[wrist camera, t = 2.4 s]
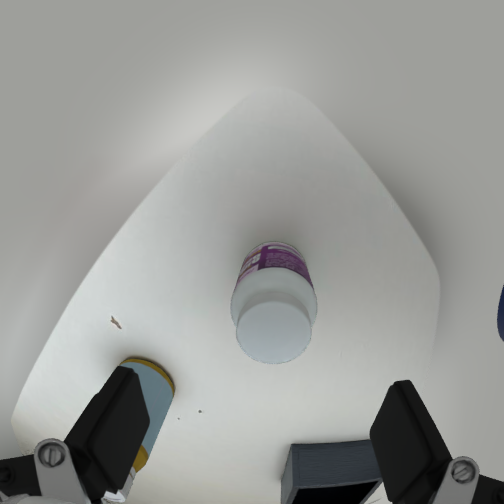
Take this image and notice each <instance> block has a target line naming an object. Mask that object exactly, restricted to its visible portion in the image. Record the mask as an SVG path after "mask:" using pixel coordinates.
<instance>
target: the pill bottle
mask: <svg viewBox="0 0 504 504" xmlns="http://www.w3.org/2000/svg"><path fill="white" fill-rule="evenodd" d="M316 315H317V298H316V294H315V291H314V288H313V284H312V282H311V279H310V276H309V273H308V269H307V267H306V264H305V261H304V259H303V257H302V256H301V254H300V253H299V252H298V251H297V250H296V249H295V248H293V247H292V246H290V245H287V244H285V243H280V242H268V243H264V244H262V245H260V246H258V247H256V248H255V249H253V250H252V251H251V252H250V253H249V254H248V256H247V257H246V259H245V260H244V263H243V265H242V268H241V271H240V274H239V277H238V280H237V283H236V286H235V289H234V292H233V295H232V299H231V316H232V320H233V322H234V325H235V327H236V337H237V341H238V343H239V345H240V347H241V349H242V350H243V351H244V352H245V353H246V354H247V355H248V356H249V357H251V358H253V359H254V360H256V361H259V362H262V363H267V364H280V363H285V362H288V361H291V360H293V359H295V358H296V357H298V356H299V355H300V354H301V353H302V352H303V351H304V350H305V349H306V348H307V346H308V345H309V342H310V339H311V334H312V329H311V327H312V326H313V324H314V322H315V319H316Z"/></svg>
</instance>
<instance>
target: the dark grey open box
mask: <svg viewBox="0 0 504 504" xmlns="http://www.w3.org/2000/svg"><path fill="white" fill-rule="evenodd" d="M382 482H383V479H382V476H381V472H380V469H379V466H378V462H377V459H376V455H375V452H374V449H373V445H372V442H371V440H362V441H353V442H341V443H324V444H291V448H290V452H289V456H288V459H287V463H286V466H285V470H284V473H283V477H282V480H281V504H364V503H365V502H366V501H367V499H368V498H369V497H370V496H371V495H372V494H373V493H374V492H375V490H376V489H377V488H378V487H379V486H380V484H381V483H382Z"/></svg>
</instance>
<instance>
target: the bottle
mask: <svg viewBox="0 0 504 504" xmlns="http://www.w3.org/2000/svg"><path fill="white" fill-rule="evenodd" d="M119 366H124V367H128V368H133V369H134V371H135V373H137V374H138V376H139V380H140V384H141V388H142V392H143V395H144V399H145V403H146V407H147V410H148V414H149V417H150V425H149V428H148V430H147V433H146V435H145V437H144V440H143V442H142V444H141V447H140V449H139V451H138V454H137V456H136V459H135V461H134V463H133V466H132V468H131V471H130V473H129V475H128V478H127V480H126V483H125V485H124V487H123V489H122V490H119V489H118V492H117V494H113V493H110V492H107V491H106V493H105V495H104V497H103V498H106V499H108V500H112V501H116V502H124V501H125V500H126V499H127V496H128V494H129V491H130V489H131V486H132V484H133V480H134V478H135V475H136V473H137V472H138V471H139V470H140V469H141V468H143V467H144V466H145V465H146V462H147V460H148V458H149V456H150V453H151V451H152V448H153V446H154V443H155V441H156V438H157V436H158V434H159V431H160V429H161V426H162V424H163V421H164V419H165V417H166V414H167V412H168V409H169V407H170V405H171V402H172V399H173V397H174V387H173V384H172V382H171V381H170V379H169V378H168V376H167V375H166V373H165V372H164V371H163V370H162V369H160V368H159V367H158V366H156V365H154V364H153V363H150V362H148V361H145V360H139V359H129V360H125V361H123V362H122V363H121V364H120V365H119Z"/></svg>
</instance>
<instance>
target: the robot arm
mask: <svg viewBox="0 0 504 504" xmlns="http://www.w3.org/2000/svg"><path fill="white" fill-rule="evenodd" d="M149 425H150V417H149V414H148V410H147V407H146V403H145V399H144V395H143V392H142V388H141V384H140V380H139V376H138V374H137V373H135V371H134V369H133V368H128V367H124V366H117V367H116V369H115V370H114V371H113V373H112V374H111V376H110V377H109V379H108V380H107V381H106V383H105V384H104V386H103V387H102V389H101V390H100V392H99V393H97V394H95V395H94V397H93V398H92V399H91V401H90V402H89V404H88V405H87V407H86V408H85V410H84V411H83V413H82V414H81V416H80V417H79V419H78V420H77V422H76V423H75V425H74V426H73V428H72V429H71V431H70V432H69V434H68V435H67V437H66V438H65V440H64V441H63V442H62V441H60V440H58V439H54V438H51V439H45V440H43V441H41V442H40V443H38V445H37V446H36V447H35V450H34V454H32V455H27V456H22V457H16V458H10V459H3V460H0V504H106V503H105V501H104V498H103V497H104V495H105V493H106V491H107V492H110V493H113V494H117V492H118V489H119V490H122V489H123V487H124V485H125V483H126V480H127V478H128V475H129V473H130V471H131V468H132V466H133V463H134V461H135V459H136V456H137V454H138V451H139V449H140V447H141V444H142V442H143V440H144V437H145V435H146V433H147V430H148V428H149ZM370 439H371V442H372V445H373V449H374V452H375V455H376V459H377V462H378V466H379V469H380V472H381V476H382V479H383V483H384V487H385V490H386V494H387V497H388V500H389V501H390V502H392V503H393V504H504V482H502V481H499V480H496V479H492V478H489V477H486V476H483V475H480V474H479V467H478V465H477V463H476V462H475V461H474V460H473V459H471V458H469V457H465V456H462V457H457V458H455V459H452V457H451V455H450V452H449V451H448V449H447V447H446V445H445V443H444V440H443V439H442V437H441V435H440V433H439V431H438V429H437V427H436V425H435V423H434V421H433V420H432V418H431V416H430V414H429V413H428V411H427V409H426V407H425V405H424V403H423V401H422V400H421V398H420V396H419V394H418V392H417V391H416V389H415V387H414V385H413V384H412V382H411V381H410V380H403V381H395V382H394V384H393V385H391V386H390V387H389V389H388V392H387V394H386V396H385V399H384V401H383V403H382V406H381V408H380V410H379V412H378V414H377V416H376V418H375V421H374V423H373V425H372V427H371V429H370Z"/></svg>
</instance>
